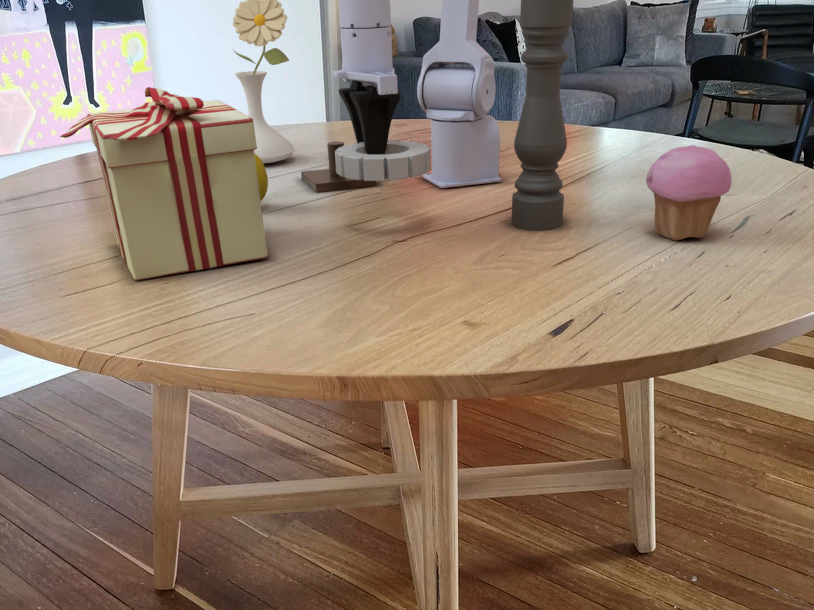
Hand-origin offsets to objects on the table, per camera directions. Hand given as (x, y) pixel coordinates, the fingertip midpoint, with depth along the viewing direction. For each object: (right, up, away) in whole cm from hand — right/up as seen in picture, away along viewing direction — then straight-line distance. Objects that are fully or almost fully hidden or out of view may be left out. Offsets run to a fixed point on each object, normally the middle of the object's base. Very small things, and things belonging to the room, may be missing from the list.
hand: (371, 151), depth 99 cm
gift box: (-21, -14, -7) cm, 26 cm away
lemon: (-17, -5, +11) cm, 20 cm away
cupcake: (+35, -11, -5) cm, 38 cm away
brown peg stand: (-6, +3, +23) cm, 24 cm away
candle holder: (+20, -8, +1) cm, 22 cm away
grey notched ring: (+1, -3, -3) cm, 4 cm away
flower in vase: (-20, +10, +38) cm, 44 cm away
